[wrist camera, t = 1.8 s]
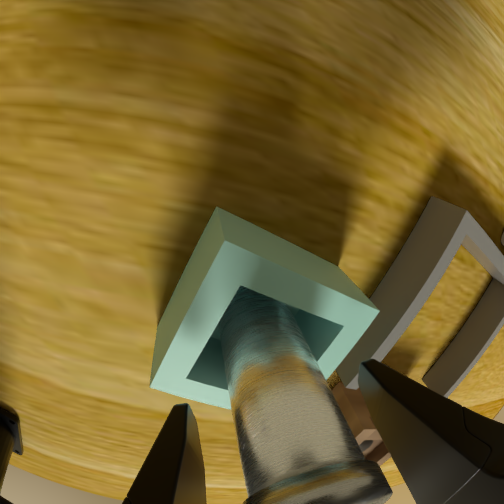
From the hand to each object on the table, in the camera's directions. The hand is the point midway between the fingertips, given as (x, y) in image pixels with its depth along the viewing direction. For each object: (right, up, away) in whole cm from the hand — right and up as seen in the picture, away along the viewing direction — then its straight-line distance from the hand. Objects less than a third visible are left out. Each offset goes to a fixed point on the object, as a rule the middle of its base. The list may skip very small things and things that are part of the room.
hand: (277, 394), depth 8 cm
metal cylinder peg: (-1, +2, +4) cm, 5 cm away
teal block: (-1, +2, +5) cm, 6 cm away
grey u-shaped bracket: (+10, 0, +8) cm, 13 cm away
